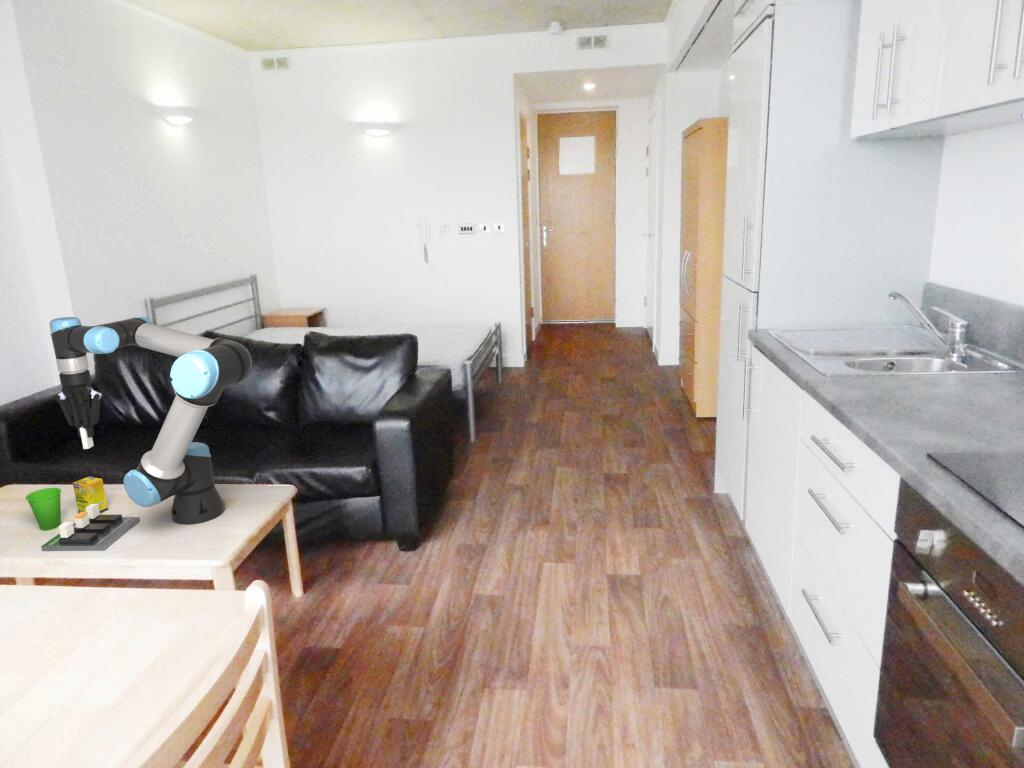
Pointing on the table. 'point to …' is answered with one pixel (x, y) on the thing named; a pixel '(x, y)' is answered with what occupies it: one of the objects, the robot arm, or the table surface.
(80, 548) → the panel
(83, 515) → the handle
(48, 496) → the cup
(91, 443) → the robot arm
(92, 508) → the handle
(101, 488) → the supplement box
